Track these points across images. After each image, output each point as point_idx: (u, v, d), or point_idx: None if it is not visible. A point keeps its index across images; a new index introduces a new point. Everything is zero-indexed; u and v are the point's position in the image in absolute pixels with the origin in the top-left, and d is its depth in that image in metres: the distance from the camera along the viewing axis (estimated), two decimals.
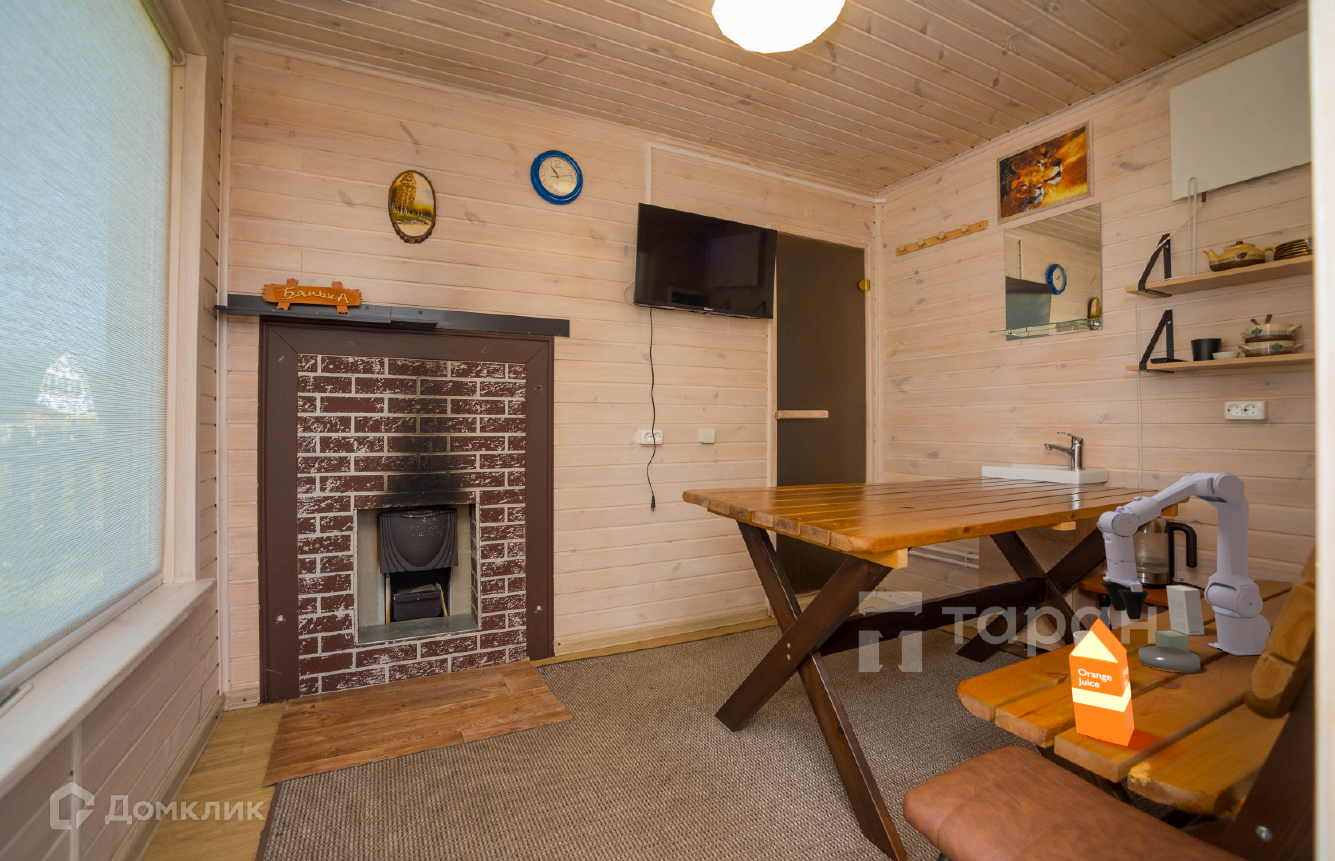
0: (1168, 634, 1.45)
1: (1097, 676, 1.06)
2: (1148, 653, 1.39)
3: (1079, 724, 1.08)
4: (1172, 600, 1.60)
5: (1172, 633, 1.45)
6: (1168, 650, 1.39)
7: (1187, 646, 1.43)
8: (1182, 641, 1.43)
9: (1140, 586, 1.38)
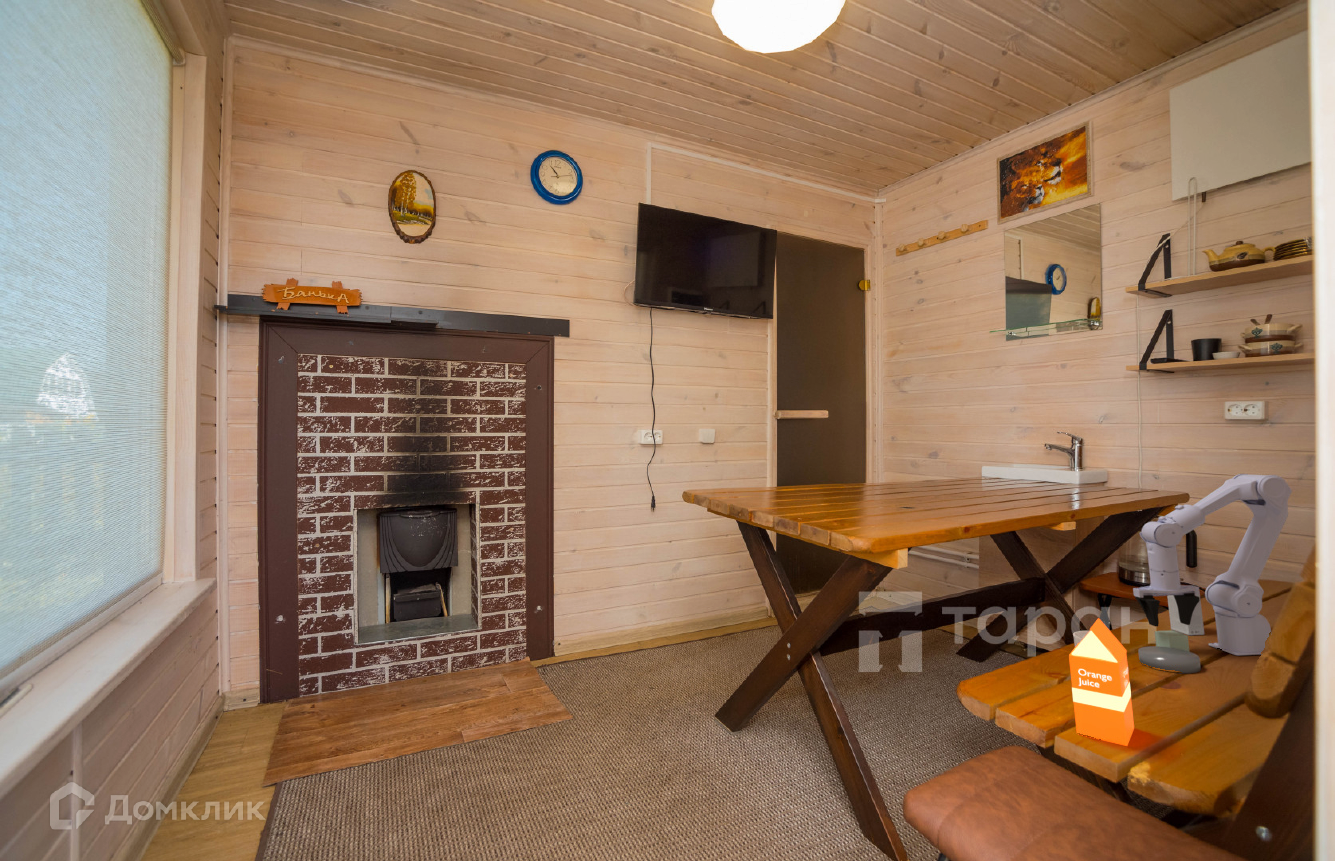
0: (1168, 634, 1.45)
1: (1097, 676, 1.06)
2: (1148, 653, 1.39)
3: (1079, 724, 1.08)
4: (1172, 600, 1.60)
5: (1172, 633, 1.45)
6: (1168, 650, 1.39)
7: (1187, 646, 1.43)
8: (1182, 641, 1.43)
9: (1137, 592, 1.46)
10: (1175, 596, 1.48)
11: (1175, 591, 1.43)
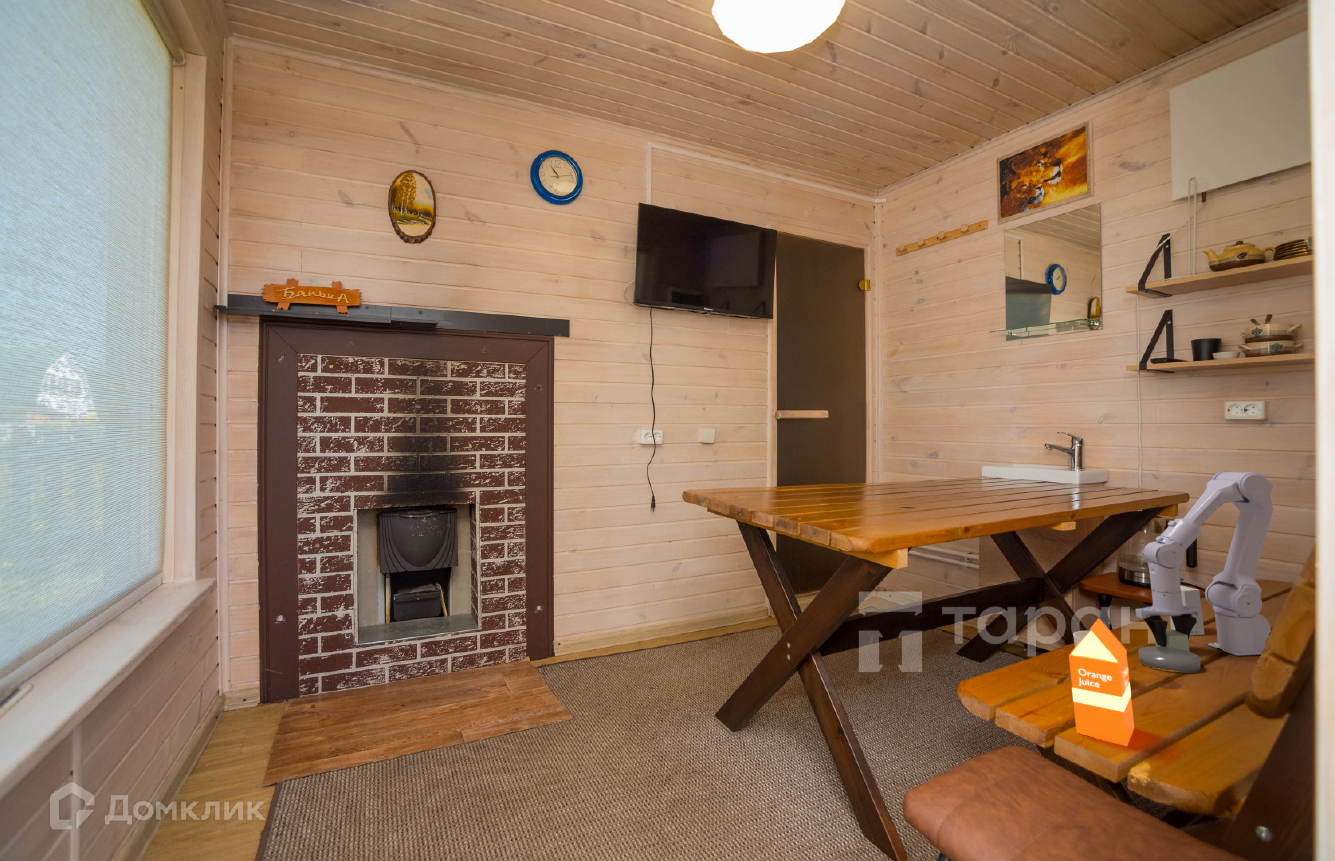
0: (1168, 633, 1.45)
1: (1097, 676, 1.06)
2: (1148, 653, 1.39)
3: (1079, 724, 1.08)
4: None
5: (1172, 633, 1.45)
6: (1168, 650, 1.39)
7: (1187, 646, 1.43)
8: (1182, 641, 1.43)
9: (1140, 612, 1.45)
10: (1172, 617, 1.47)
11: (1177, 612, 1.43)
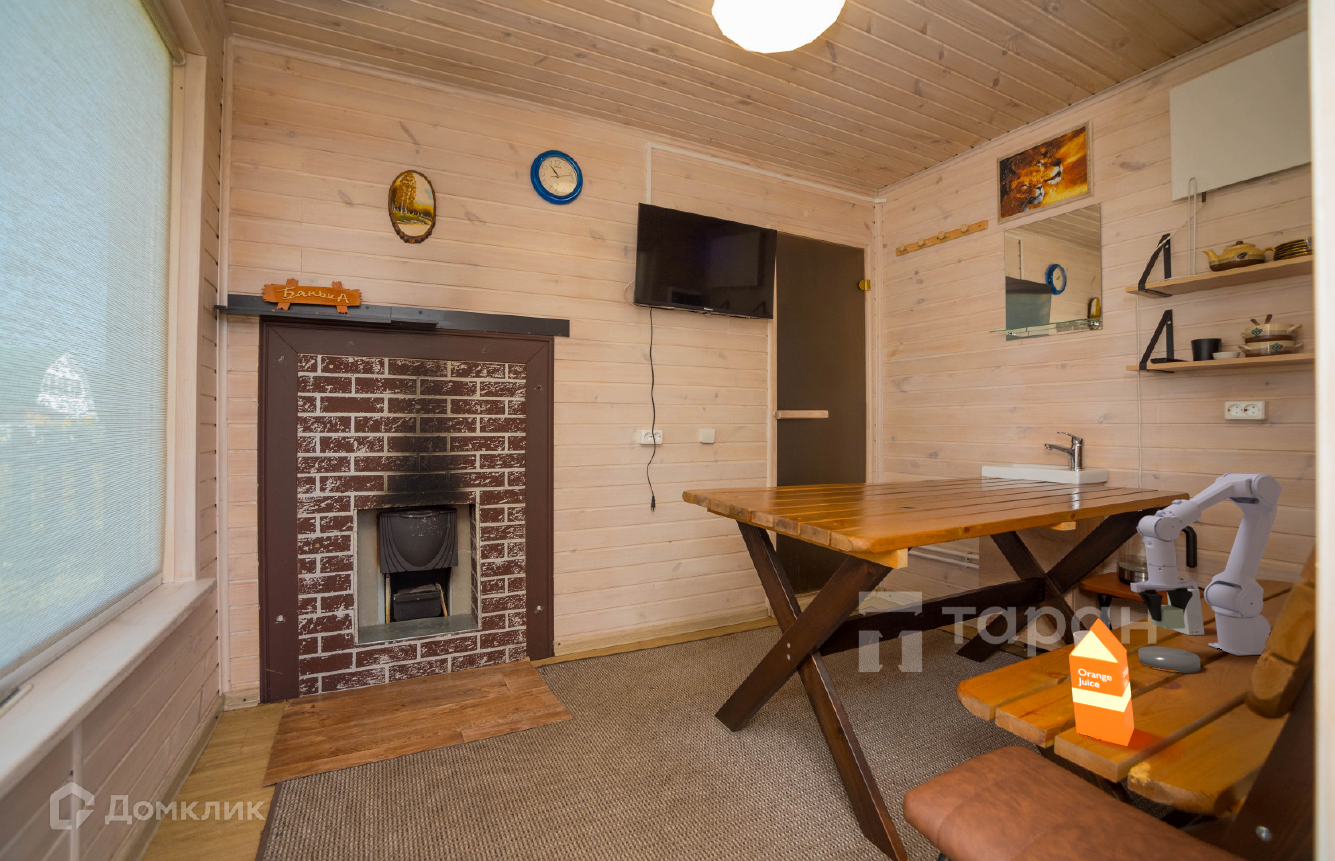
0: (1163, 608, 1.43)
1: (1097, 676, 1.06)
2: (1148, 653, 1.39)
3: (1079, 724, 1.08)
4: None
5: (1167, 607, 1.44)
6: (1168, 650, 1.39)
7: (1182, 620, 1.41)
8: (1177, 615, 1.41)
9: (1135, 586, 1.44)
10: (1168, 591, 1.46)
11: (1173, 586, 1.41)
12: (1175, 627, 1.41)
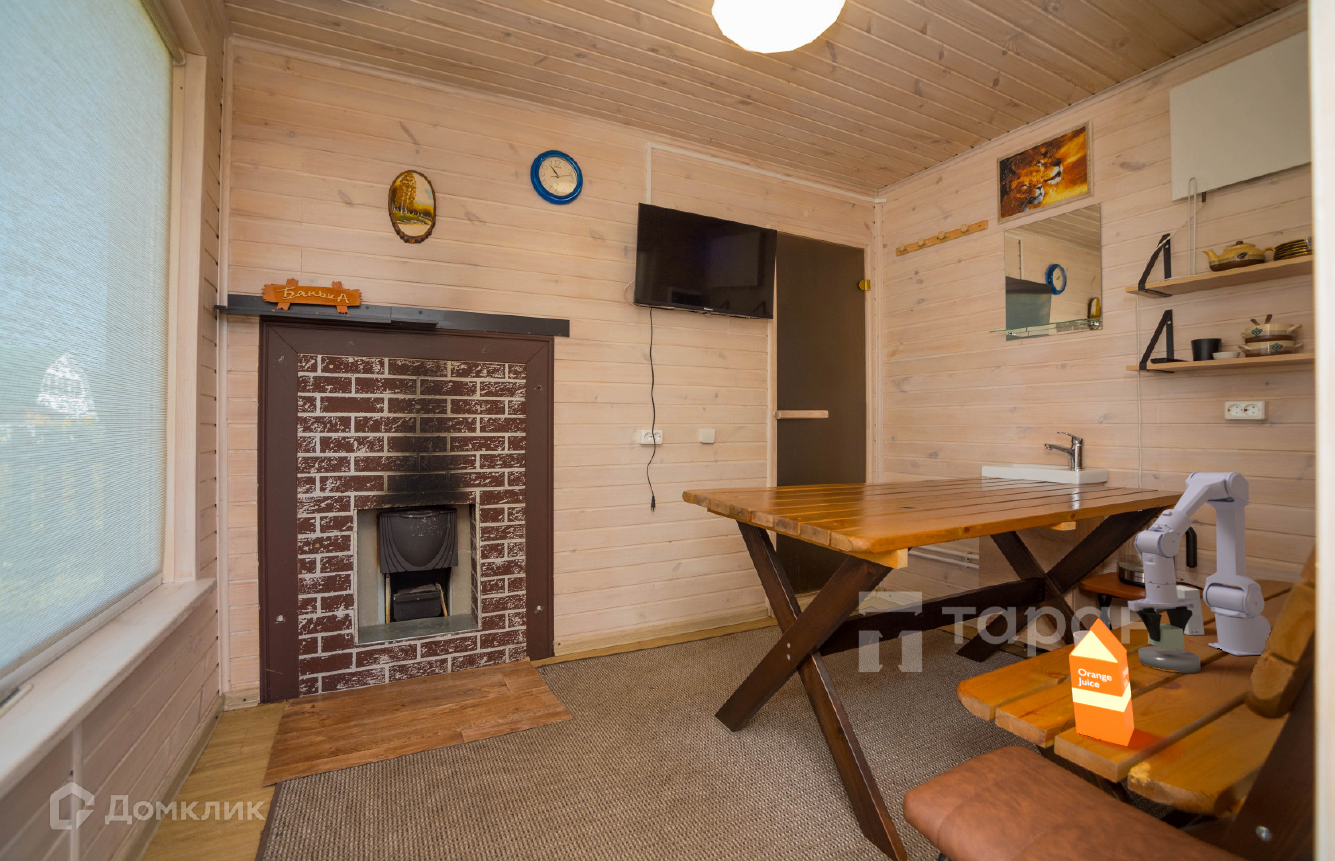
0: (1162, 627, 1.37)
1: (1097, 676, 1.06)
2: (1148, 653, 1.39)
3: (1079, 724, 1.08)
4: None
5: (1166, 626, 1.37)
6: (1168, 650, 1.39)
7: (1182, 640, 1.35)
8: (1177, 635, 1.35)
9: (1132, 605, 1.38)
10: (1167, 609, 1.40)
11: (1172, 604, 1.35)
12: (1174, 647, 1.35)
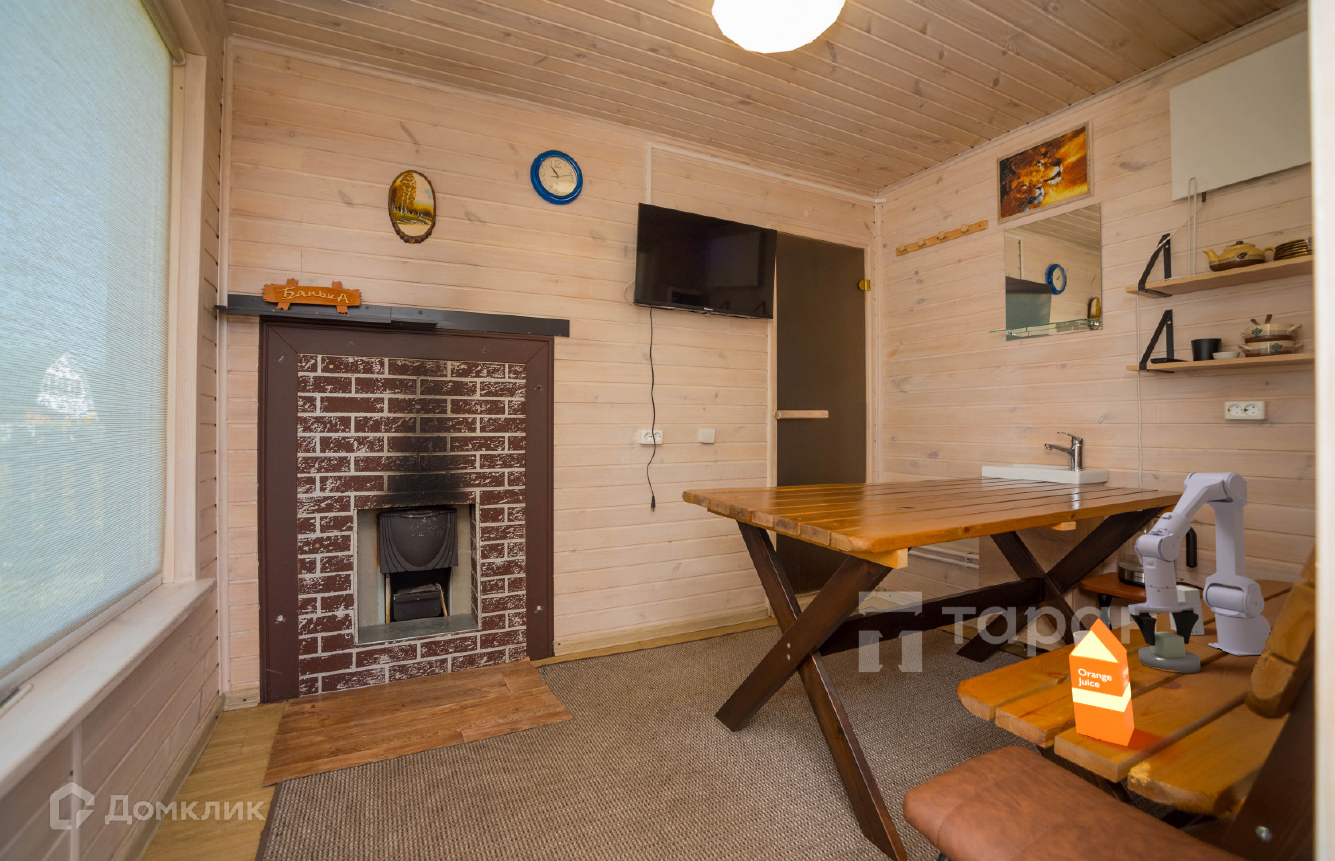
0: (1163, 635, 1.37)
1: (1097, 676, 1.06)
2: (1148, 653, 1.39)
3: (1079, 724, 1.08)
4: None
5: (1167, 634, 1.37)
6: None
7: (1183, 648, 1.35)
8: (1177, 643, 1.35)
9: (1133, 609, 1.37)
10: (1173, 613, 1.39)
11: (1173, 608, 1.35)
12: (1175, 656, 1.35)
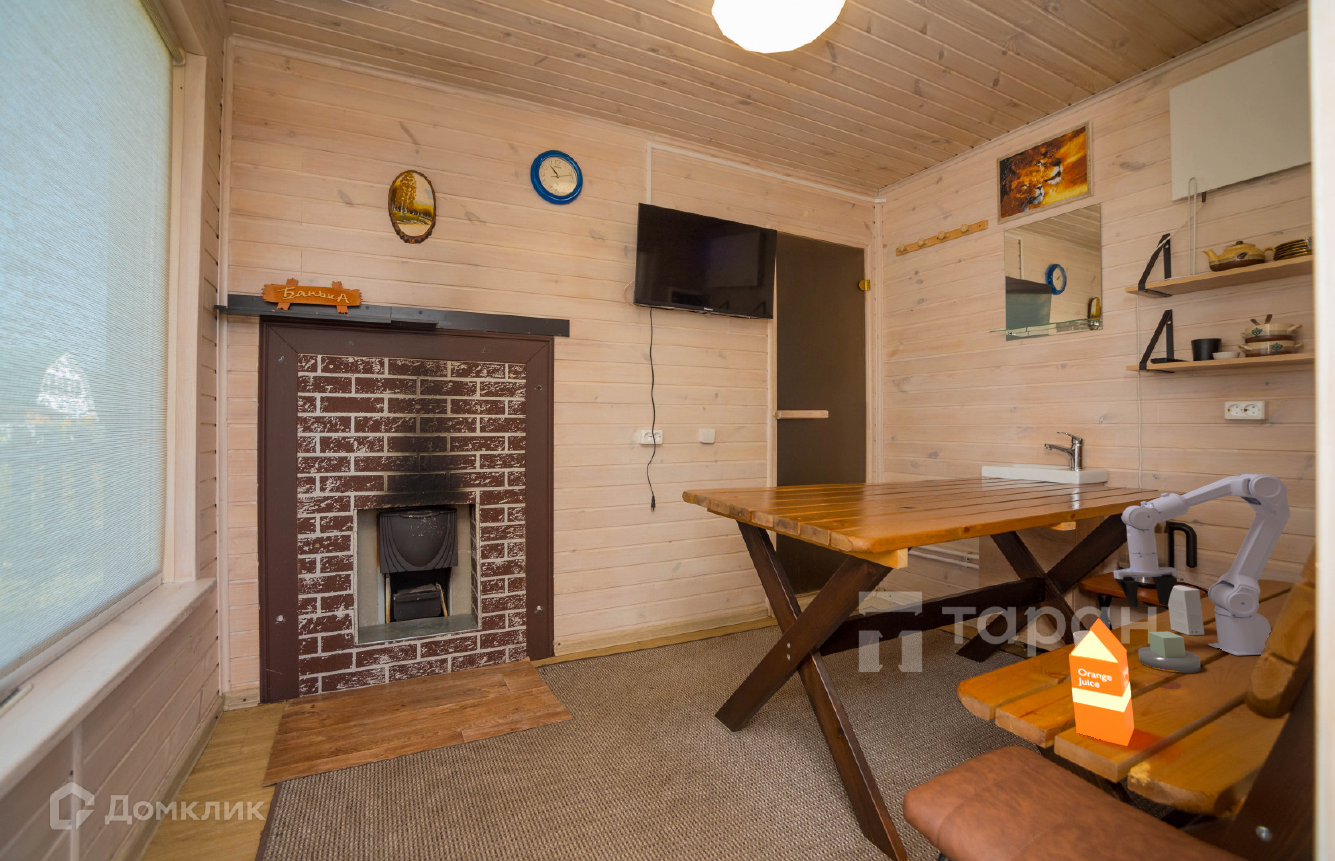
0: (1163, 635, 1.37)
1: (1097, 676, 1.06)
2: (1148, 653, 1.39)
3: (1079, 724, 1.08)
4: (1172, 600, 1.60)
5: (1167, 634, 1.37)
6: None
7: (1183, 648, 1.35)
8: (1177, 643, 1.35)
9: (1117, 573, 1.50)
10: (1154, 578, 1.52)
11: (1153, 572, 1.47)
12: (1175, 656, 1.35)
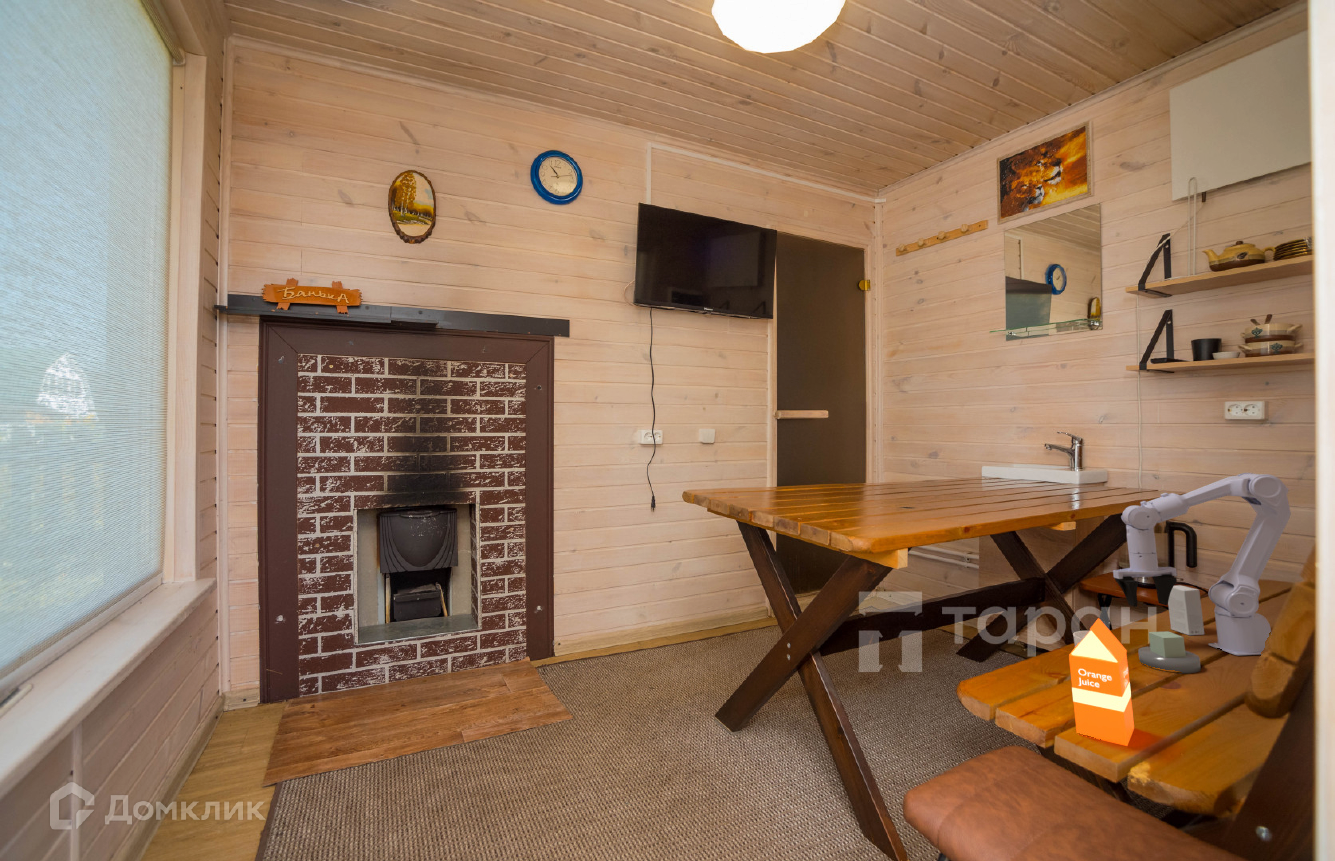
0: (1163, 635, 1.37)
1: (1097, 676, 1.06)
2: (1148, 653, 1.39)
3: (1079, 724, 1.08)
4: (1172, 600, 1.60)
5: (1167, 634, 1.37)
6: None
7: (1183, 648, 1.35)
8: (1177, 643, 1.35)
9: (1117, 573, 1.50)
10: (1154, 577, 1.52)
11: (1153, 572, 1.48)
12: (1175, 655, 1.35)
